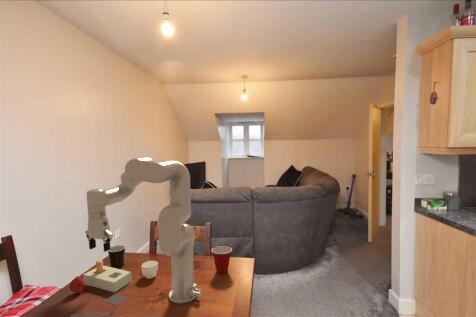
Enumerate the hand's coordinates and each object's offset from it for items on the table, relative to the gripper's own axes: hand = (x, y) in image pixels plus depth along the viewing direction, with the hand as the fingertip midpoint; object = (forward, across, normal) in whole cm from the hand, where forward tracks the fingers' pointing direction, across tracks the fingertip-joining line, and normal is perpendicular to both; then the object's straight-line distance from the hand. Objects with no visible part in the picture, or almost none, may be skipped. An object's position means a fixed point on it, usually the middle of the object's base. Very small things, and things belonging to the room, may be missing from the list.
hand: (99, 249), depth 124 cm
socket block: (+16, -4, 0) cm, 17 cm away
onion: (+16, +2, +11) cm, 20 cm away
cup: (+17, -19, -13) cm, 29 cm away
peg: (+16, +1, 0) cm, 16 cm away
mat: (+17, -18, +9) cm, 26 cm away
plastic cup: (+18, -51, -30) cm, 62 cm away
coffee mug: (+16, +5, -13) cm, 21 cm away
